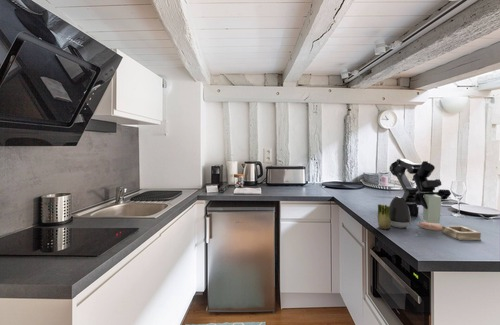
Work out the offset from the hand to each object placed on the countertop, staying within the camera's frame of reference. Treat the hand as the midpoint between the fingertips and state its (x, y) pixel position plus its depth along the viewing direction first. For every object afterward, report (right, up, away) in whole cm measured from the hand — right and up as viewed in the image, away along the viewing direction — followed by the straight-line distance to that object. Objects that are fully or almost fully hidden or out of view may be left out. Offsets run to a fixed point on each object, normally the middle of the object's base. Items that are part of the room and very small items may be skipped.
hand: (433, 208), depth 114 cm
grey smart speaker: (-15, -10, +4) cm, 18 cm away
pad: (0, -9, +2) cm, 10 cm away
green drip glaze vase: (-24, -10, +1) cm, 26 cm away
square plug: (0, -7, +2) cm, 7 cm away
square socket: (+4, -10, -10) cm, 15 cm away
